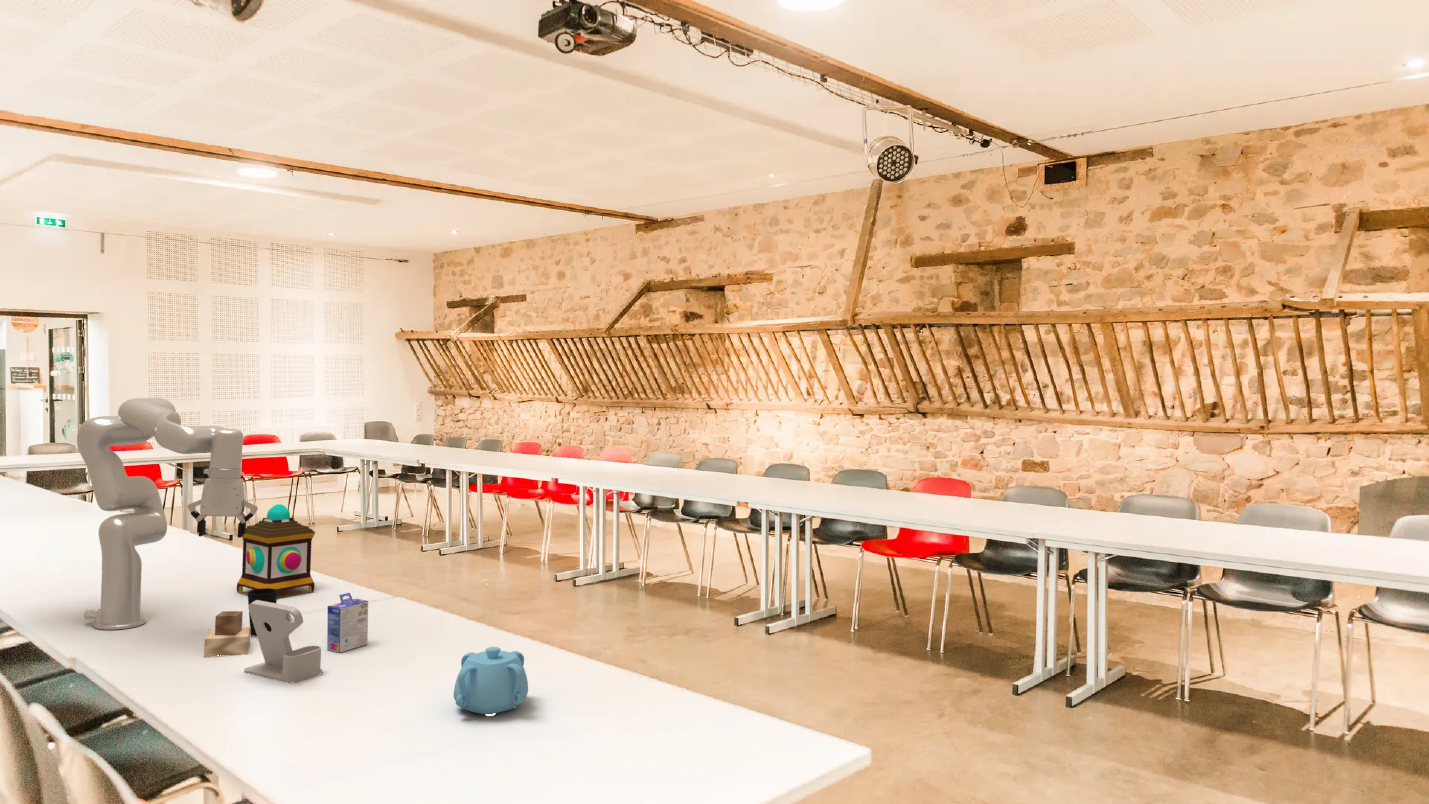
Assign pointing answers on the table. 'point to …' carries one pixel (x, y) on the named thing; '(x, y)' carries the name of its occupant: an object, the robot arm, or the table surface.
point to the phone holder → (281, 644)
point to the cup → (261, 595)
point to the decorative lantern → (277, 553)
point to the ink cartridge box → (347, 624)
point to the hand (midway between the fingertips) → (221, 536)
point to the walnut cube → (228, 623)
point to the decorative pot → (491, 681)
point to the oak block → (227, 643)
